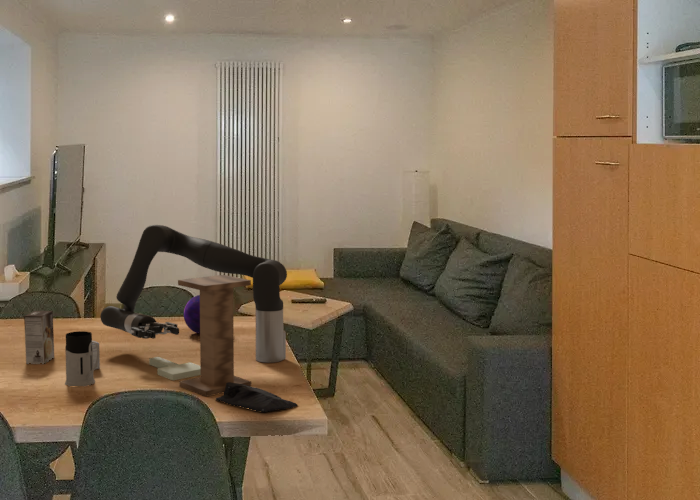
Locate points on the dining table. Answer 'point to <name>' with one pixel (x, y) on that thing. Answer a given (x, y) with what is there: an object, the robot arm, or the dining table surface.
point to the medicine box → (95, 355)
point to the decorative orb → (193, 314)
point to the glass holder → (80, 359)
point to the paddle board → (174, 368)
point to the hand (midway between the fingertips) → (166, 333)
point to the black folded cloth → (253, 398)
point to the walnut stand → (215, 333)
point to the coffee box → (39, 337)
